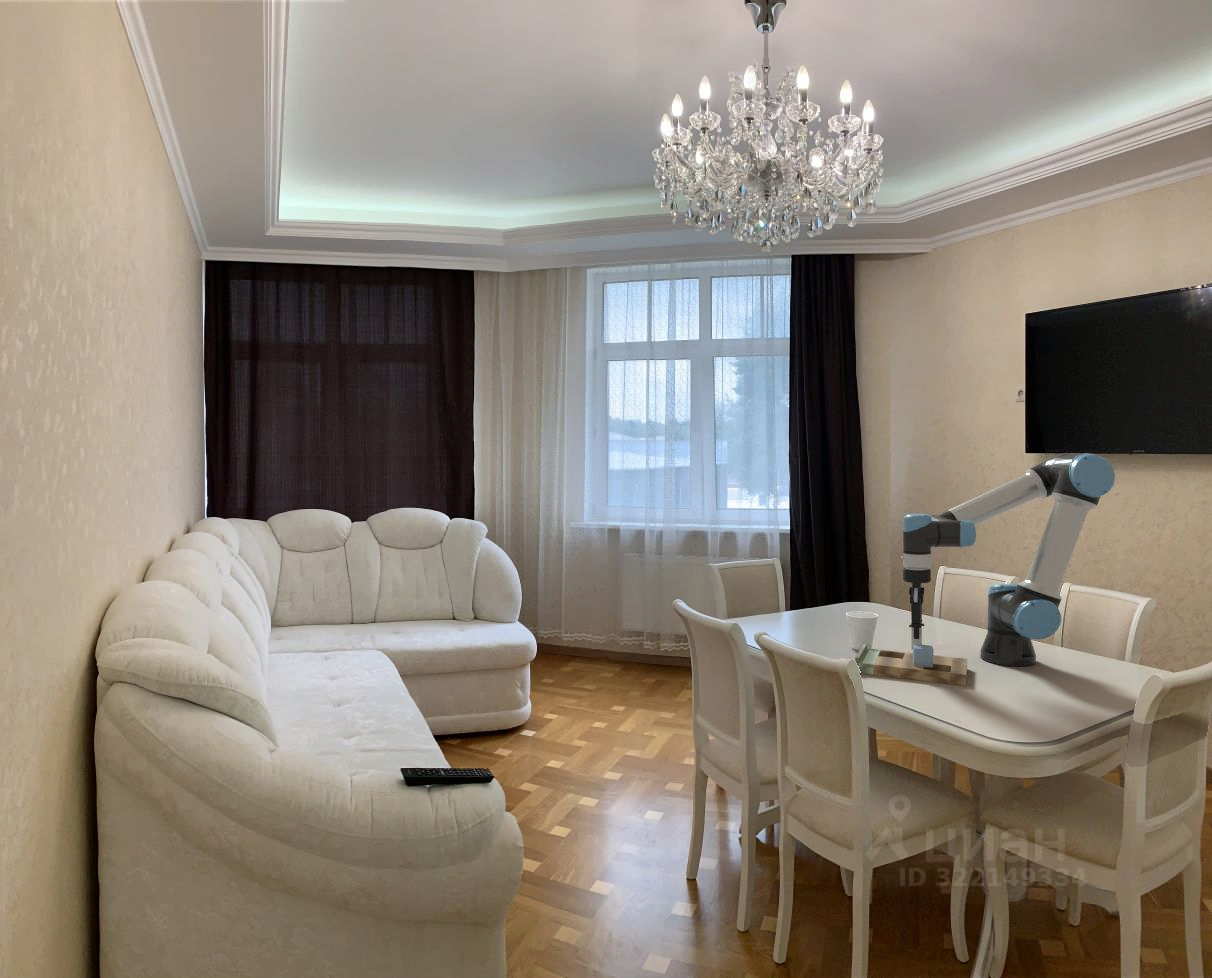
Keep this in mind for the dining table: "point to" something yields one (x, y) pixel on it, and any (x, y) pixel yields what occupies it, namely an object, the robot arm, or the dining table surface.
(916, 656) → the block
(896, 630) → the dining table surface
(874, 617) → the cup
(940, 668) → the board
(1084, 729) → the dining table surface
